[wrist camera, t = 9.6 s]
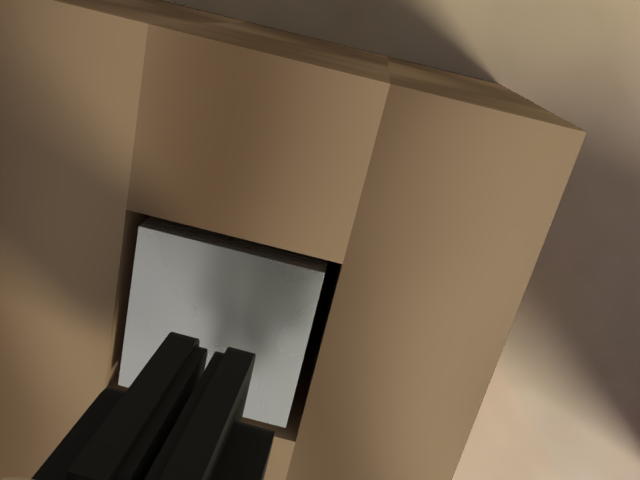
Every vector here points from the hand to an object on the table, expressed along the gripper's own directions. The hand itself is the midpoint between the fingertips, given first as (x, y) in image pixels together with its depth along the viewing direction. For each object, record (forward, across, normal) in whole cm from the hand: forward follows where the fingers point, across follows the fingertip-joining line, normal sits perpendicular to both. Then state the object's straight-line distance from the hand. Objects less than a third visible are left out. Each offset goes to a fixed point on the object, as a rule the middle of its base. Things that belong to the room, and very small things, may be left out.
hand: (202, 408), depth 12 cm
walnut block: (+11, 0, +6) cm, 13 cm away
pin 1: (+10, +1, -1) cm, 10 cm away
